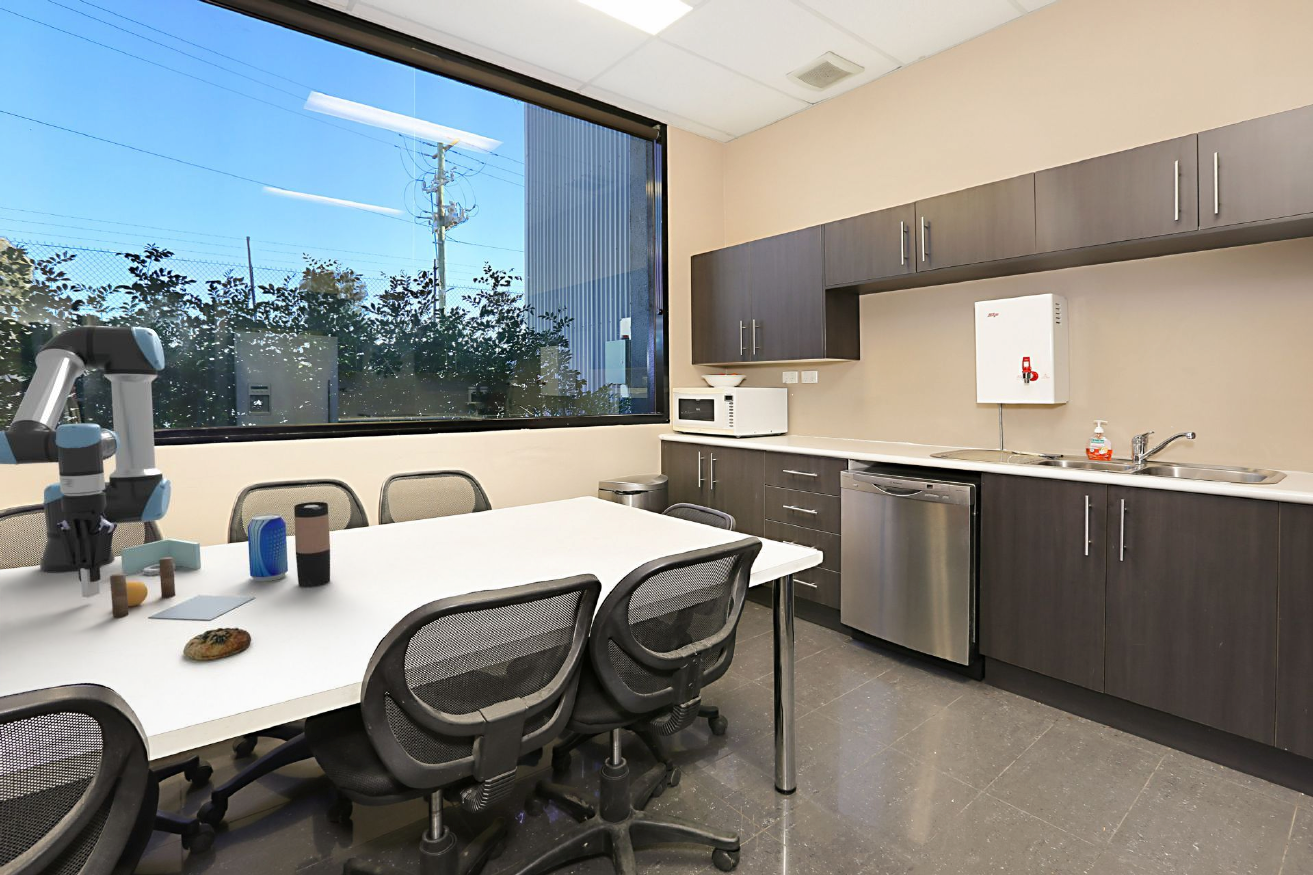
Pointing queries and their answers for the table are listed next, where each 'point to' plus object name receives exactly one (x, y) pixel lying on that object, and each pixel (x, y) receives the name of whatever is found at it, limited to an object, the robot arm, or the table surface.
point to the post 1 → (119, 595)
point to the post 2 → (167, 577)
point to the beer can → (267, 547)
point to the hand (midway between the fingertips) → (91, 595)
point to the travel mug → (312, 543)
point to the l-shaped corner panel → (160, 556)
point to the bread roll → (217, 644)
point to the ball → (136, 592)
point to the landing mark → (202, 607)
